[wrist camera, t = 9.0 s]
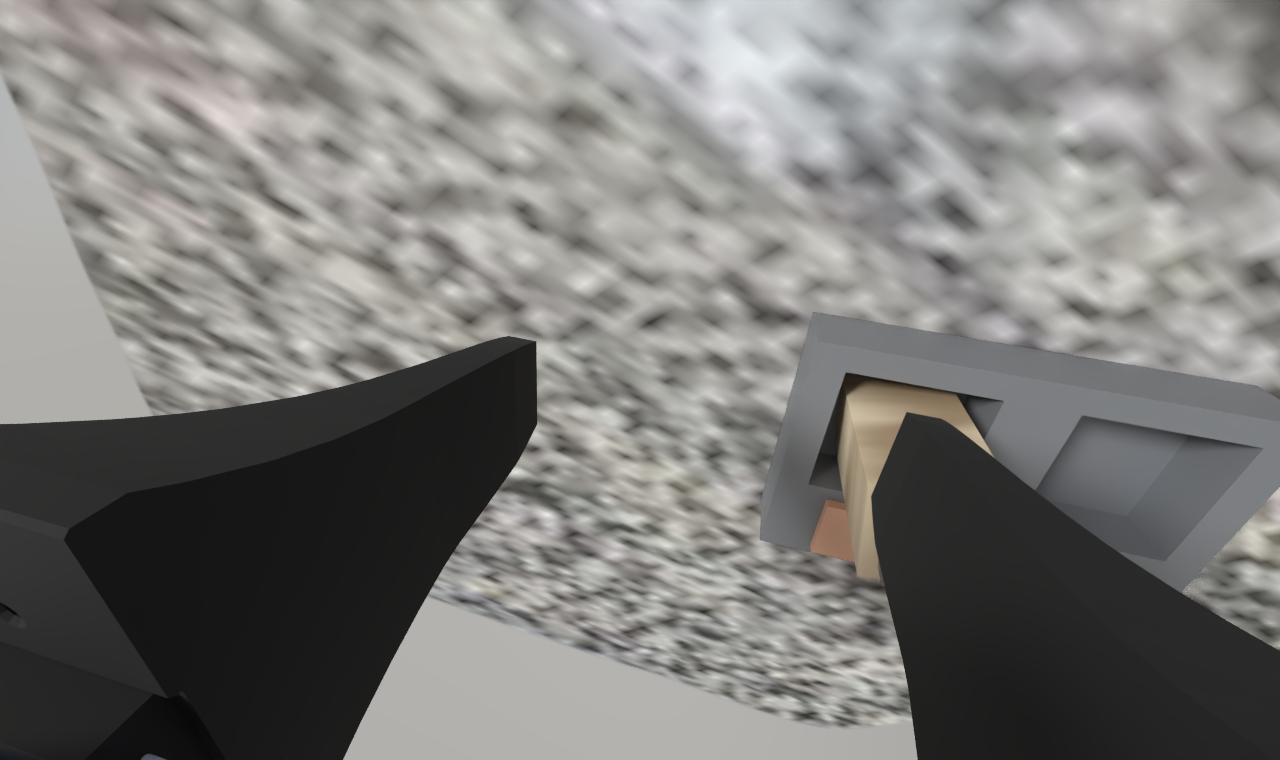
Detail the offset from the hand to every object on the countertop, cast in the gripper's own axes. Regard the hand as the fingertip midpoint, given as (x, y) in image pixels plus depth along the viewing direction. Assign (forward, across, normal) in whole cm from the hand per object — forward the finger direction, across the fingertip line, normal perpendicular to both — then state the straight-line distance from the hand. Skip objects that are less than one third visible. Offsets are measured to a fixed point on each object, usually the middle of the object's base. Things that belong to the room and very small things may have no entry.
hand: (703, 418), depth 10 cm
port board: (+10, -10, +6) cm, 15 cm away
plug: (+10, -6, +4) cm, 12 cm away
